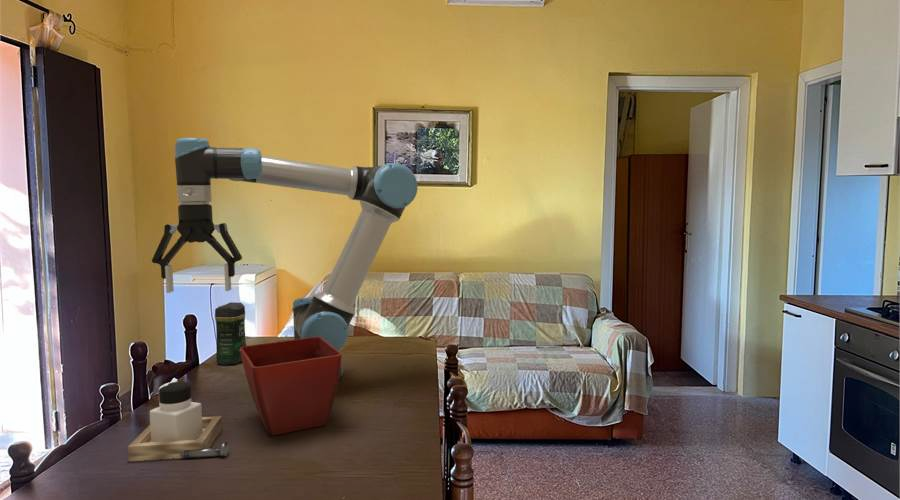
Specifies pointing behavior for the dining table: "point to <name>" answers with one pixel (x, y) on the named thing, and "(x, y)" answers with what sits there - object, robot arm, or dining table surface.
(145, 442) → the wooden tray
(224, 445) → the pin
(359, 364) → the dining table surface
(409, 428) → the dining table surface
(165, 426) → the medicine bottle
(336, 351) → the plant pot
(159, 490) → the dining table surface
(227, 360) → the coffee jar
